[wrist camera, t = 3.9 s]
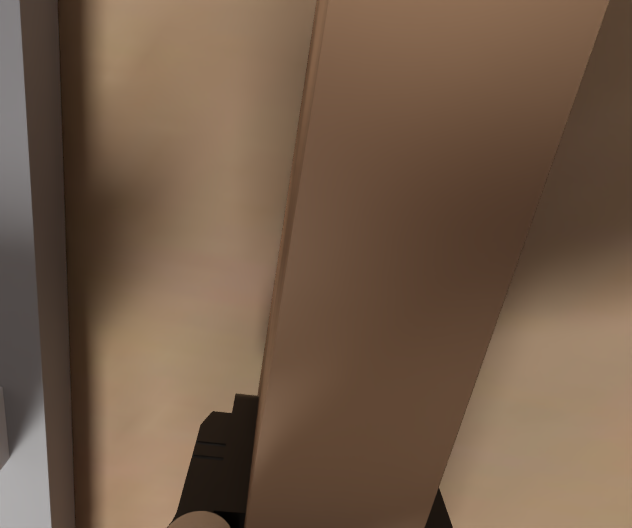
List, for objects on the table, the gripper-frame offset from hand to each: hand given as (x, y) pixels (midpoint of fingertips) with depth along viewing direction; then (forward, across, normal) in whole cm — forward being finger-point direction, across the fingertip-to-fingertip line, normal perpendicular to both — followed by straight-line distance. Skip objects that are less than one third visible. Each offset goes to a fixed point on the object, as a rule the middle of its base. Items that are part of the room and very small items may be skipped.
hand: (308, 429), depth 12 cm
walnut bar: (+2, 0, 0) cm, 2 cm away
